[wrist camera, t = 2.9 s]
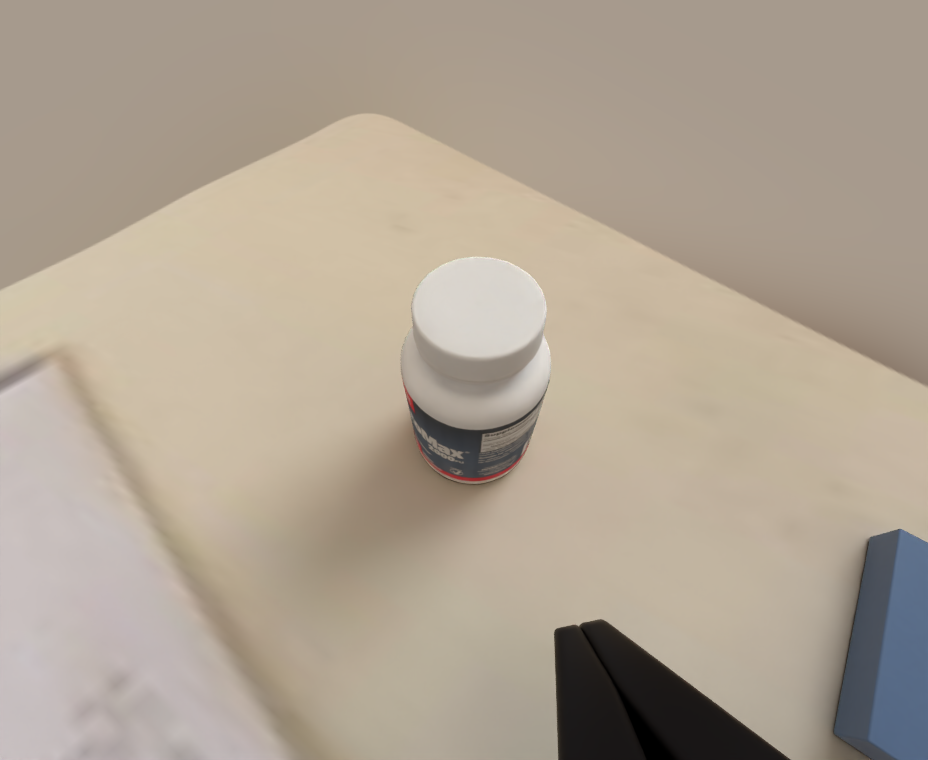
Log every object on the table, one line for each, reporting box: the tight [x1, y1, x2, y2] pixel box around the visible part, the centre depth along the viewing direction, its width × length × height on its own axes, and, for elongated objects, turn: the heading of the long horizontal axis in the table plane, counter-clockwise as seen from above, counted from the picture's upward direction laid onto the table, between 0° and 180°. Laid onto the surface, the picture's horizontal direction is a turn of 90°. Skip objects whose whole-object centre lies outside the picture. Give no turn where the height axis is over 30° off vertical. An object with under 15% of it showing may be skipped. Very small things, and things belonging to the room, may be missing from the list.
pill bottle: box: [401, 257, 551, 484], centre depth 16 cm, size 5×5×9 cm
